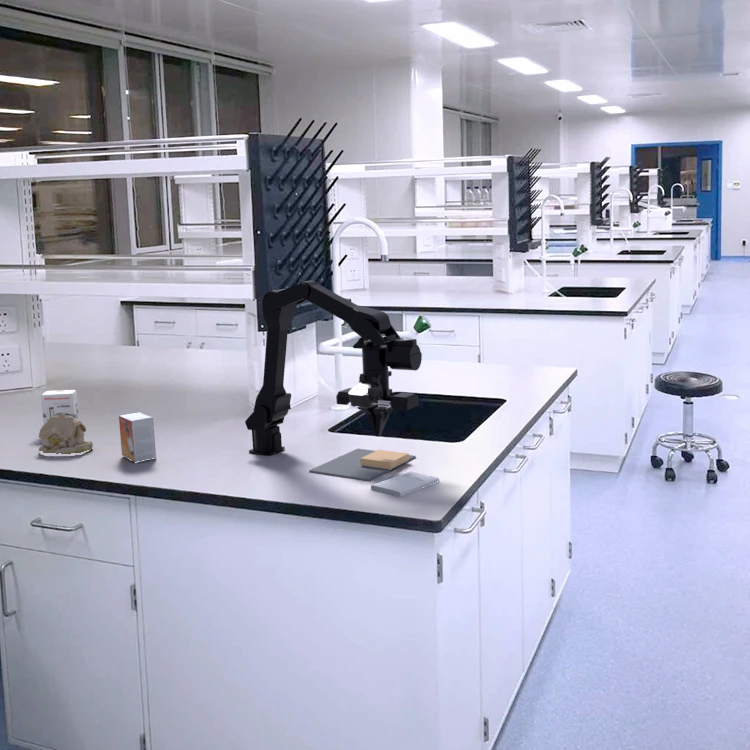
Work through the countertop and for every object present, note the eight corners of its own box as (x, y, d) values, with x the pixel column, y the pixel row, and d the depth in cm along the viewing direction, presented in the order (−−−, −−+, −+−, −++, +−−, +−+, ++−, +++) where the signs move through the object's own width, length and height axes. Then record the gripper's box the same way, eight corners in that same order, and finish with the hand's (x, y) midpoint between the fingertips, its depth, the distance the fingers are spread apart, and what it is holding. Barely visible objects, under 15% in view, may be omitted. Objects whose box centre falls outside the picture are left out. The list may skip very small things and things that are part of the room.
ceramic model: (28, 456, 223) (24, 417, 221) (57, 444, 234) (53, 407, 232) (76, 459, 219) (72, 419, 217) (103, 447, 229) (99, 409, 227)
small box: (121, 457, 218) (117, 415, 216) (143, 453, 222) (139, 411, 220) (134, 464, 212) (130, 420, 210) (157, 459, 215) (153, 416, 213)
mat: (309, 472, 200) (309, 470, 200) (357, 450, 216) (357, 448, 216) (369, 481, 191) (369, 479, 191) (415, 457, 208) (415, 455, 208)
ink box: (44, 437, 242) (39, 394, 240) (48, 432, 247) (44, 390, 245) (76, 435, 243) (72, 392, 240) (80, 430, 247) (76, 389, 245)
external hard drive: (370, 492, 186) (409, 477, 195) (400, 499, 180) (439, 484, 189) (370, 484, 185) (409, 470, 194) (400, 491, 180) (439, 477, 189)
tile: (360, 458, 201) (390, 462, 197) (378, 449, 208) (408, 453, 203) (360, 466, 201) (390, 470, 197) (379, 457, 208) (408, 461, 204)
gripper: (320, 372, 198) (324, 440, 201) (392, 377, 188) (395, 449, 191) (348, 363, 207) (351, 429, 210) (418, 368, 198) (420, 437, 200)
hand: (378, 436), depth 203 cm, fingers closed
